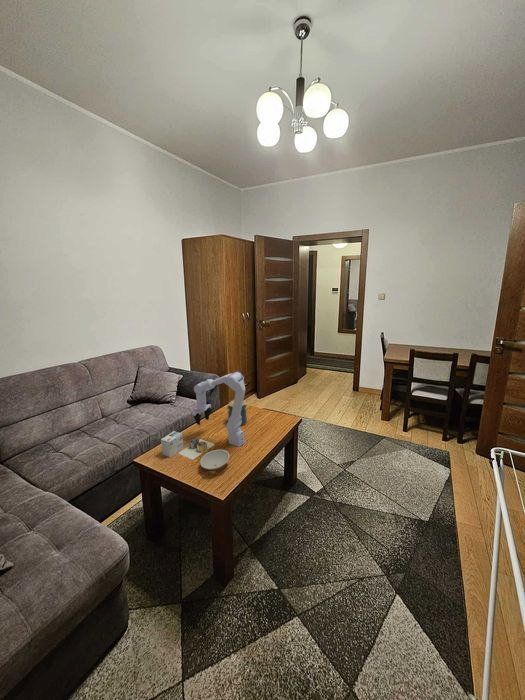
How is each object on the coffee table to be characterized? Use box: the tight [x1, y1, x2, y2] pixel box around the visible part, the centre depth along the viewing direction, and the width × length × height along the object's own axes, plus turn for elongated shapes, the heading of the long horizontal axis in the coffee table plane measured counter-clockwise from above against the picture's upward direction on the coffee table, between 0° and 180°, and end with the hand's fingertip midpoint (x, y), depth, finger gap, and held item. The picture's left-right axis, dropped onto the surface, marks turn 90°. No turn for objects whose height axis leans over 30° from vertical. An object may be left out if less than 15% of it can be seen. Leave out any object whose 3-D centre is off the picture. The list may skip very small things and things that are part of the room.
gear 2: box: [197, 441, 208, 453], centre depth 168 cm, size 6×6×4 cm
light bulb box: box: [160, 430, 184, 458], centre depth 167 cm, size 11×7×11 cm, turn 152°
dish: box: [199, 449, 230, 471], centre depth 154 cm, size 18×14×5 cm
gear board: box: [177, 438, 215, 460], centre depth 169 cm, size 13×18×5 cm
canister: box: [227, 399, 248, 427], centre depth 201 cm, size 13×13×18 cm
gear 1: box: [188, 438, 200, 449], centre depth 172 cm, size 6×6×4 cm
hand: (202, 421), depth 183 cm, fingers open, 7 cm apart
